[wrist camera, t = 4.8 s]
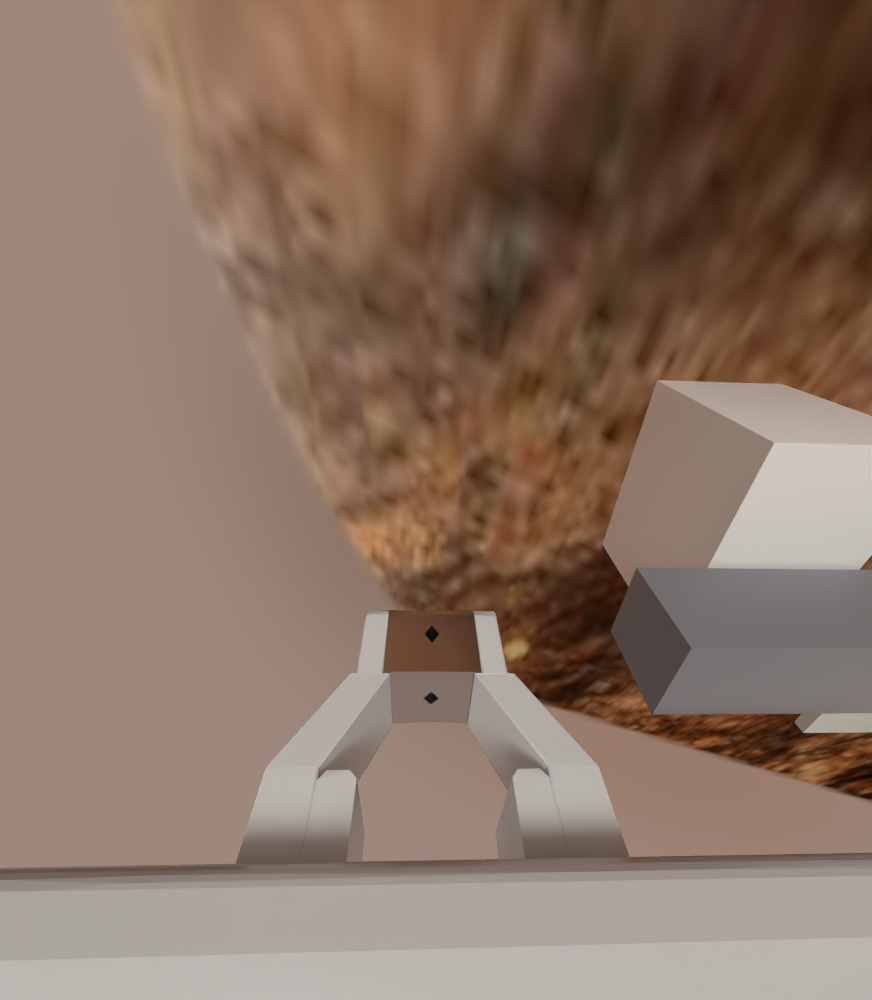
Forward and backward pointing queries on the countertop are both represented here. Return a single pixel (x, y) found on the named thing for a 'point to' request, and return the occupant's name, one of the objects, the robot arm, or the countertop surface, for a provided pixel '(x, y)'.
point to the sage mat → (835, 723)
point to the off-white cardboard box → (744, 482)
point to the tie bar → (749, 640)
